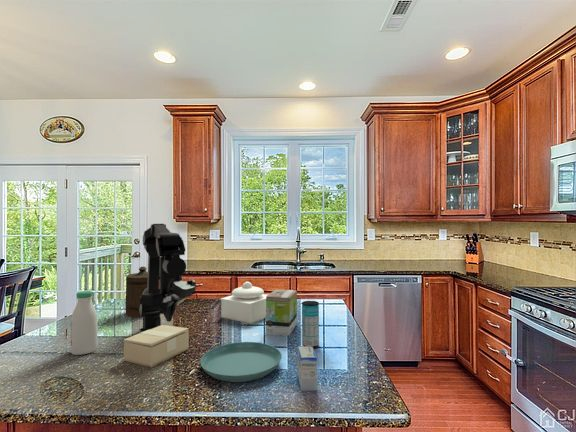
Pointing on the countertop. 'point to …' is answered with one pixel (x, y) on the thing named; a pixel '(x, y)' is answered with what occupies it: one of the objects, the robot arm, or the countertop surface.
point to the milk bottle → (84, 325)
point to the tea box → (281, 312)
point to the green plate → (241, 361)
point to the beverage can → (310, 324)
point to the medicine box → (307, 369)
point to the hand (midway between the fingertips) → (169, 321)
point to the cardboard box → (156, 350)
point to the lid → (156, 335)
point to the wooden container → (135, 291)
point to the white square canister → (245, 304)
